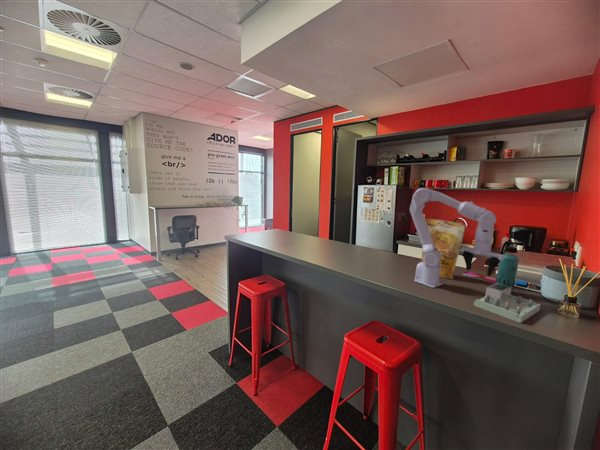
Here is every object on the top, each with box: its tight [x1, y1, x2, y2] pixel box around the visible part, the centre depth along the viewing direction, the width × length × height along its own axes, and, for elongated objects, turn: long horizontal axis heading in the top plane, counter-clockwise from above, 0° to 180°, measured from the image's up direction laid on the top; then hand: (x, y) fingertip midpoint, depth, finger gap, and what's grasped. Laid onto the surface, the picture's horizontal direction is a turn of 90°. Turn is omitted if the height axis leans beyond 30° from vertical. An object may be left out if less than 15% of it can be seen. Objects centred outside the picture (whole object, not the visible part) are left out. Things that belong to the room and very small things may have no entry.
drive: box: [484, 283, 512, 306], centre depth 95 cm, size 5×9×6 cm, turn 122°
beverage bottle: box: [495, 245, 520, 292], centre depth 107 cm, size 6×7×20 cm
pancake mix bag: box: [421, 218, 466, 280], centre depth 126 cm, size 7×19×28 cm, turn 38°
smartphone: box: [462, 270, 497, 285], centre depth 125 cm, size 7×1×15 cm
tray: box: [473, 292, 542, 324], centre depth 93 cm, size 14×18×4 cm
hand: (478, 272), depth 104 cm, fingers open, 7 cm apart
